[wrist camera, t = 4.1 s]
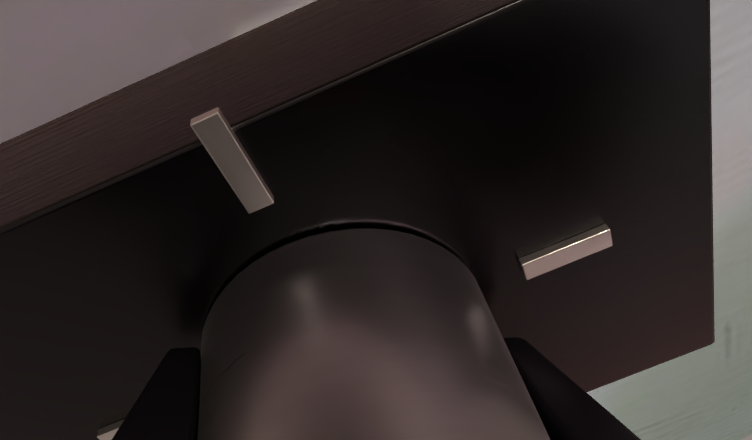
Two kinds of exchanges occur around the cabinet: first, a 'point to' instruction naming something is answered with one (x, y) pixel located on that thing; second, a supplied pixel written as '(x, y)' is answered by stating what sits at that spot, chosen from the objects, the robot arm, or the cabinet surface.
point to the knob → (359, 348)
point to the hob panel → (370, 187)
